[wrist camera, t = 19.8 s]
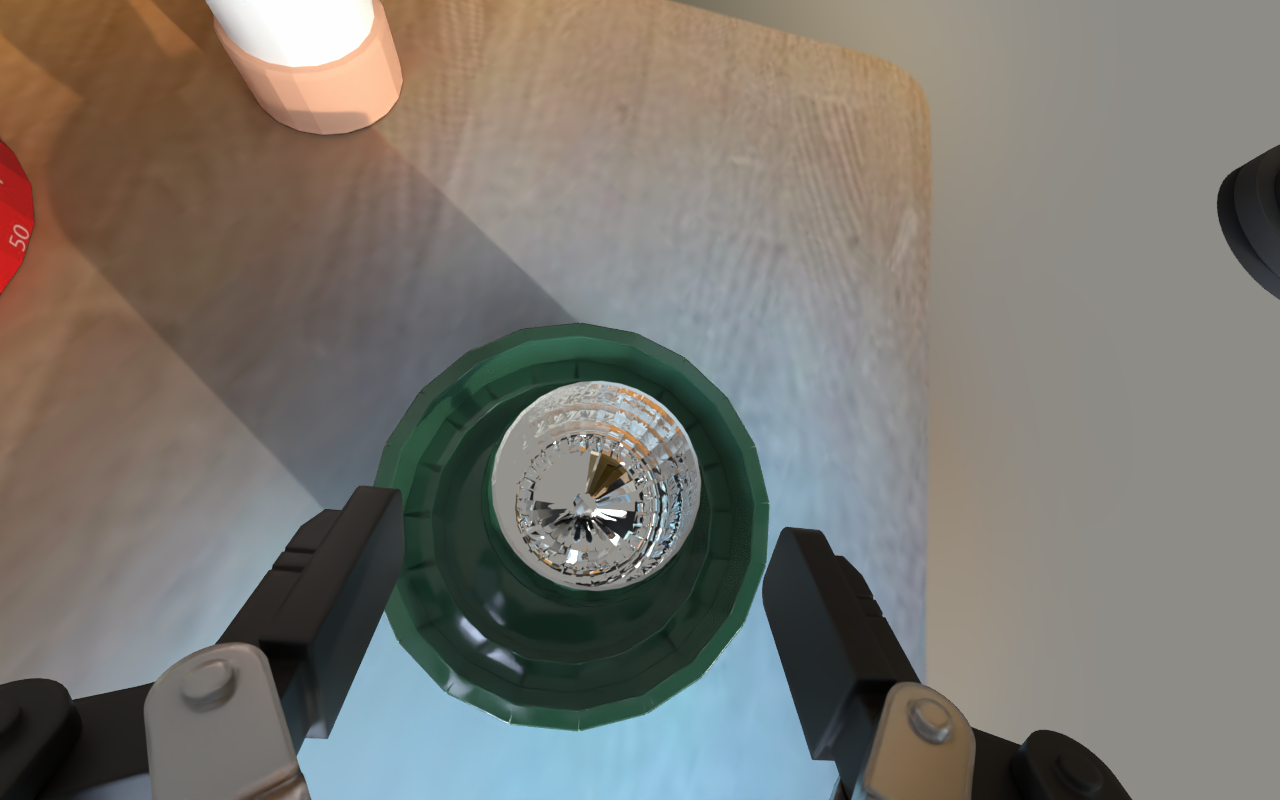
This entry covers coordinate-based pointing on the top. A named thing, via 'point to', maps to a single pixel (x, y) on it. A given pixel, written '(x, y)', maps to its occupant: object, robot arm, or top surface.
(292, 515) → the top surface
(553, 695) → the green bowl
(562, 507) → the wineglass
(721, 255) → the top surface
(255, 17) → the salt shaker
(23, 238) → the kitchen timer
